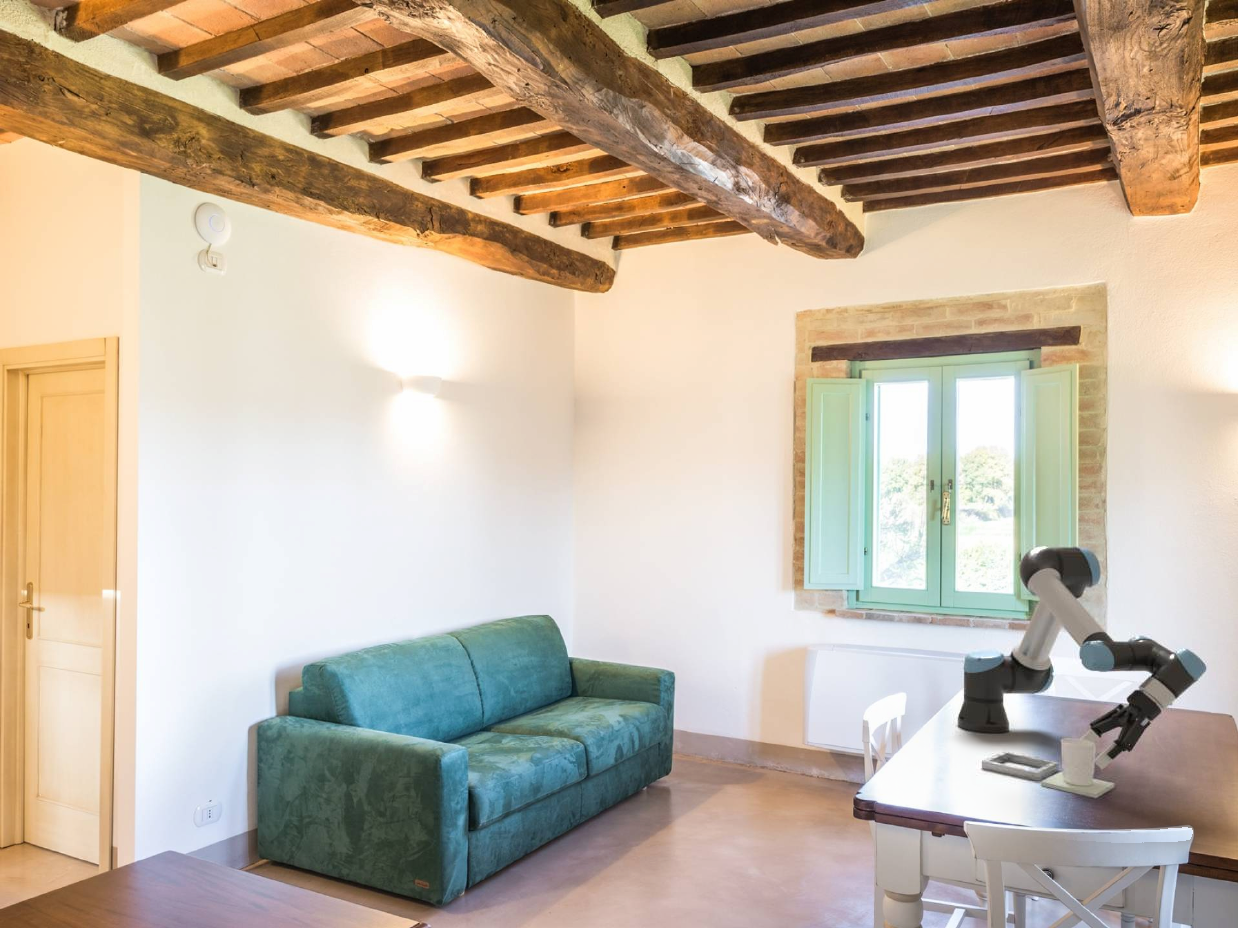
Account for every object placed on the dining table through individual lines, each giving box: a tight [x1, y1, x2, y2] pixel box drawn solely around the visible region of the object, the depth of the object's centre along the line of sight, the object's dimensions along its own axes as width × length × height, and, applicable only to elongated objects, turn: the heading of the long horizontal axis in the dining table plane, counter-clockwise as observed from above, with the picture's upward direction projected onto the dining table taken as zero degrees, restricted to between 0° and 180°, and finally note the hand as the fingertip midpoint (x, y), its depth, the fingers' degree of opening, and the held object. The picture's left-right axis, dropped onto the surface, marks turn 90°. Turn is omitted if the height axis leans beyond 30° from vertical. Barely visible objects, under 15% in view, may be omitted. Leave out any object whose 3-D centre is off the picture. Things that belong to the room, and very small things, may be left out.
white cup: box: [1060, 737, 1097, 786], centre depth 239 cm, size 8×8×10 cm
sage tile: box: [1040, 771, 1115, 799], centre depth 239 cm, size 13×13×1 cm
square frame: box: [981, 750, 1059, 782], centre depth 253 cm, size 14×14×2 cm
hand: (1086, 757), depth 238 cm, fingers open, 13 cm apart
